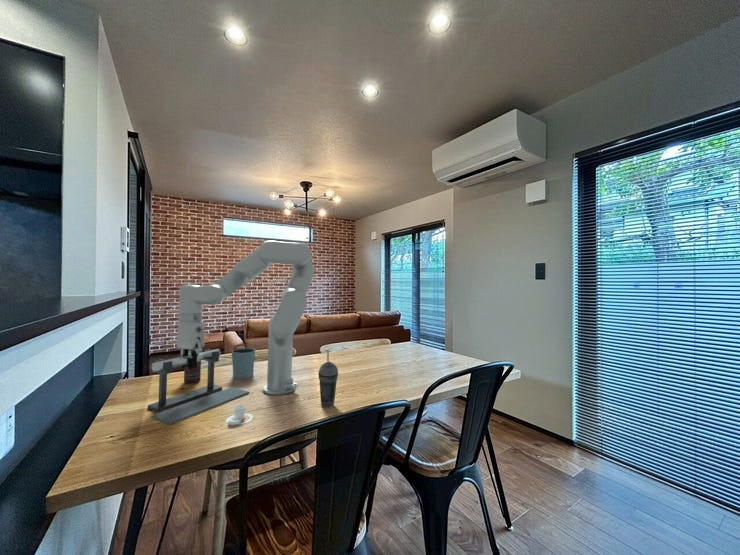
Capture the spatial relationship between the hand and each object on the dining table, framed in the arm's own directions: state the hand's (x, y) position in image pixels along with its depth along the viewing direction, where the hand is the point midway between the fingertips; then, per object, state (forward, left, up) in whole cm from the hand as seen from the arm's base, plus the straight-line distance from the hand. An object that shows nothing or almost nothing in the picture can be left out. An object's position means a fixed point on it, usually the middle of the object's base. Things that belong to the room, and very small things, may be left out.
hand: (188, 366), depth 112 cm
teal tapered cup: (+4, -28, -12) cm, 31 cm away
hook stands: (0, 0, -12) cm, 12 cm away
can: (+16, -12, -12) cm, 23 cm away
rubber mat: (-10, 0, -12) cm, 15 cm away
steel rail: (0, 0, +3) cm, 3 cm away
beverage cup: (-48, -21, -12) cm, 54 cm away
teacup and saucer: (-28, +4, -12) cm, 31 cm away
